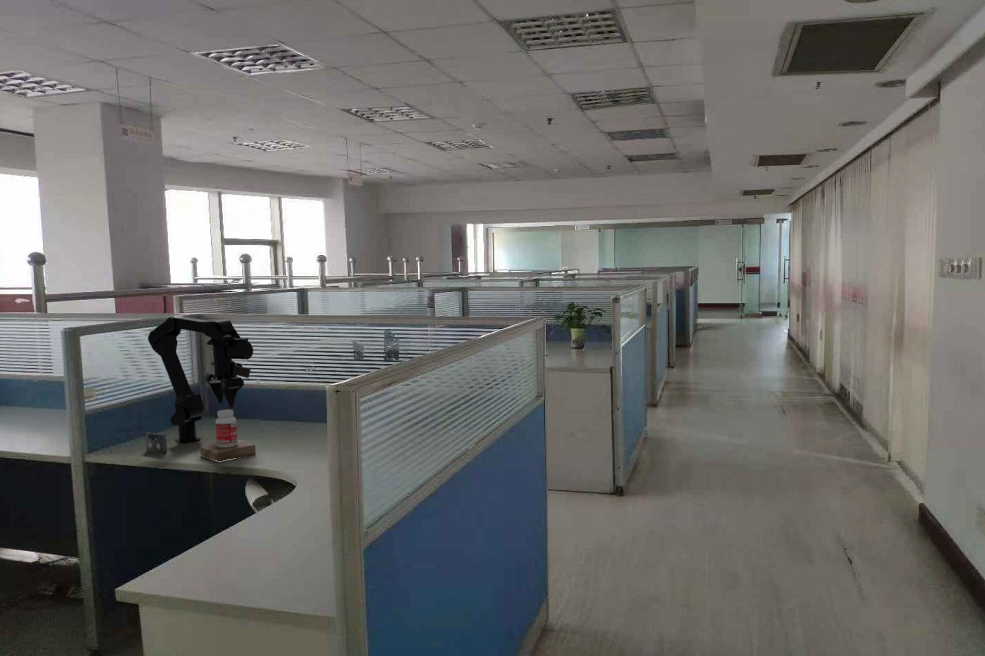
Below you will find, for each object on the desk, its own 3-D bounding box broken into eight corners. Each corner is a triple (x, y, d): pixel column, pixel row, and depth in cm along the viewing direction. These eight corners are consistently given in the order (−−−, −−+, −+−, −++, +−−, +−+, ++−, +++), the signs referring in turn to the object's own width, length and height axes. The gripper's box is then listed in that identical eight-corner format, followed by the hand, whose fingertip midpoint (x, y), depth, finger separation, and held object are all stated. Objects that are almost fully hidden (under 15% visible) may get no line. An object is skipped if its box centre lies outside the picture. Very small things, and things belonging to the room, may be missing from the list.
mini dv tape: (167, 452, 232) (165, 434, 231) (163, 454, 230) (161, 435, 230) (150, 449, 236) (149, 431, 235) (146, 451, 234) (145, 432, 234)
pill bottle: (234, 447, 224) (232, 412, 223) (214, 448, 223) (212, 413, 222) (240, 442, 230) (238, 408, 229) (220, 443, 230) (218, 409, 228)
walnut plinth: (200, 456, 227) (200, 446, 226) (236, 447, 235) (236, 438, 235) (219, 463, 219) (218, 453, 218) (255, 454, 227) (255, 445, 227)
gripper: (258, 358, 235) (261, 405, 237) (235, 353, 249) (238, 397, 251) (224, 362, 228) (227, 411, 229) (202, 356, 242) (206, 402, 244)
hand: (225, 405), depth 238 cm, fingers open, 9 cm apart
